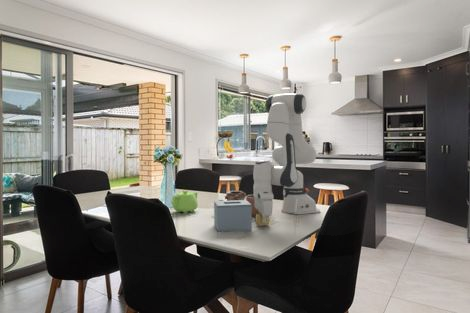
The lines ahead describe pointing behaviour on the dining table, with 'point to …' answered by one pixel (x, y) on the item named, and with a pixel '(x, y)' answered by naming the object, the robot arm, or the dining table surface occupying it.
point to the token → (258, 220)
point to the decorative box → (235, 195)
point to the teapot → (185, 202)
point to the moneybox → (232, 215)
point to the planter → (251, 200)
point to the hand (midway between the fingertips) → (262, 221)
